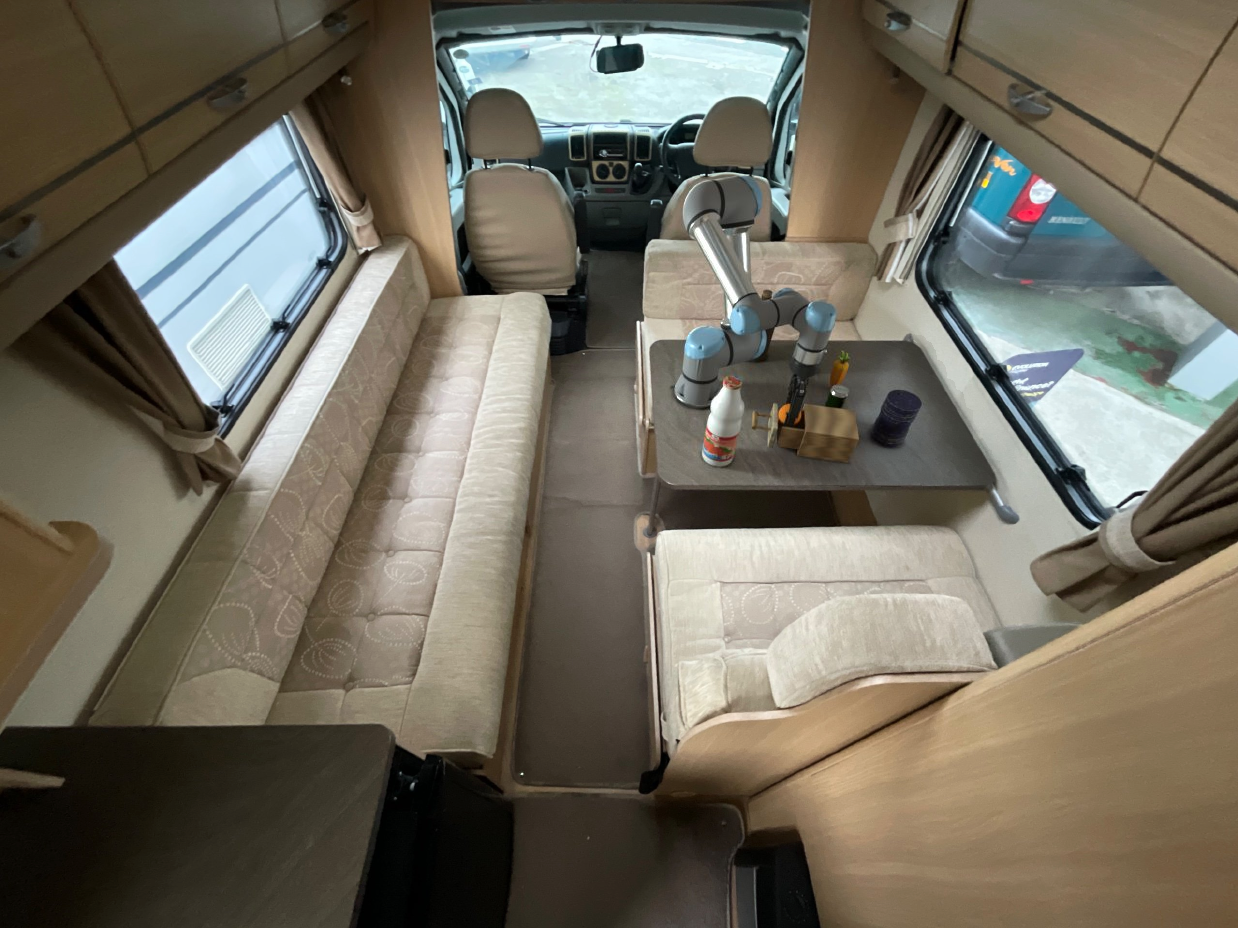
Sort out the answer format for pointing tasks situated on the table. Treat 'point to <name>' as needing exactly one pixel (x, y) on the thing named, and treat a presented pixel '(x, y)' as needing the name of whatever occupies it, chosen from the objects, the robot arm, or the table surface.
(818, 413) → the cabinet
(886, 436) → the storage jar
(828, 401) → the beer can
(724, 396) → the fruit juice
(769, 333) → the olive oil
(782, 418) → the orange
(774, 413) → the drawer
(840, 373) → the carrot
